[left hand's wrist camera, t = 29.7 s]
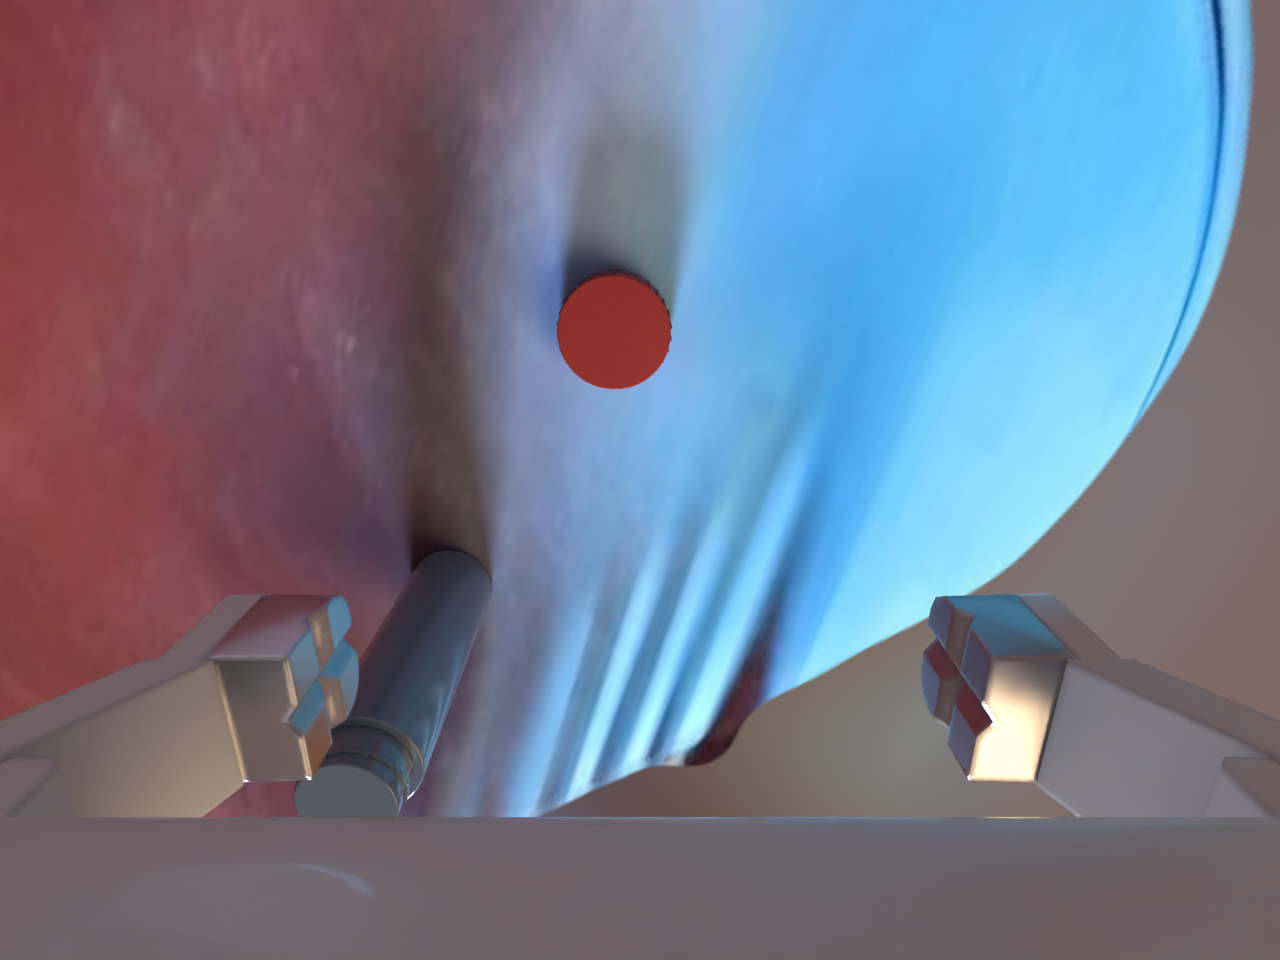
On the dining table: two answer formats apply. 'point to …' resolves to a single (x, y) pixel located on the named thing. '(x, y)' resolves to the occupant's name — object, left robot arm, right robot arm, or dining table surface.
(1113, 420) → the dining table surface
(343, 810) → the bottle
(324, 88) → the dining table surface
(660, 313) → the lid
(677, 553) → the dining table surface
